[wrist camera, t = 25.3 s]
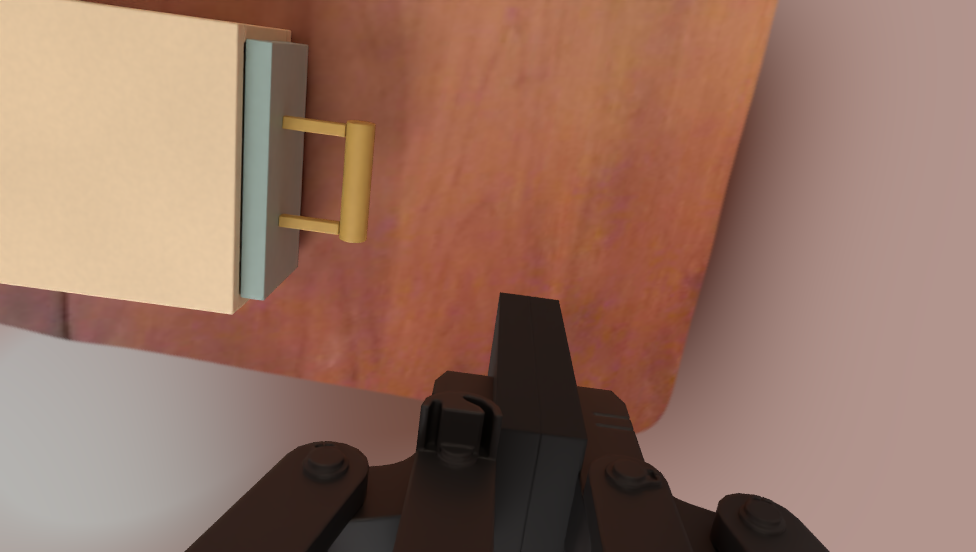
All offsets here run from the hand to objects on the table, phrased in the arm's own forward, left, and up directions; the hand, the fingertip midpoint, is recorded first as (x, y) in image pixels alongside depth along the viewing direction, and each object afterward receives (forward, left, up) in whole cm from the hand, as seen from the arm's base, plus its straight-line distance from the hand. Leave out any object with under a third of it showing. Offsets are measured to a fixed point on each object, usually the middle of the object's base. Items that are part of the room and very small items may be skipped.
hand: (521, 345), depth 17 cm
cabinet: (+15, +14, -22) cm, 31 cm away
